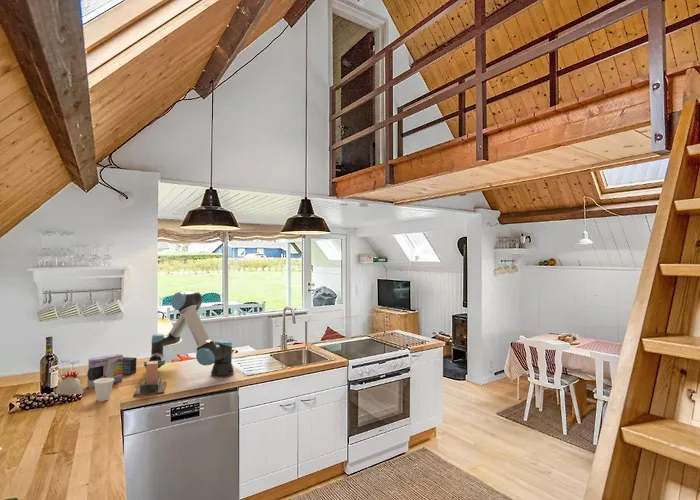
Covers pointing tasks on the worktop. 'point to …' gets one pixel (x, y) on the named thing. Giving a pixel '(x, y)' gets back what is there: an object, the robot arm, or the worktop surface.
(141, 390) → the grey socket base
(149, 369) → the block
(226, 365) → the robot arm
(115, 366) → the cake pan box
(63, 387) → the red-crested grey dome
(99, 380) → the cup
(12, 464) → the worktop surface
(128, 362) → the small box
